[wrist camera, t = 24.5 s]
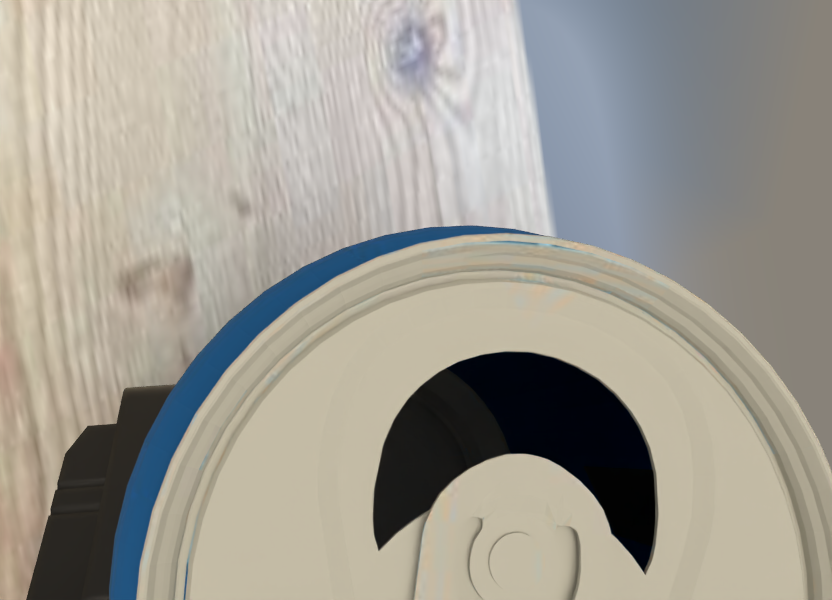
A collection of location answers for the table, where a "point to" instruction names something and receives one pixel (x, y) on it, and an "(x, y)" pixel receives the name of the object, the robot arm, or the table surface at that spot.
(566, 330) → the beverage can
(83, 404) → the table surface
